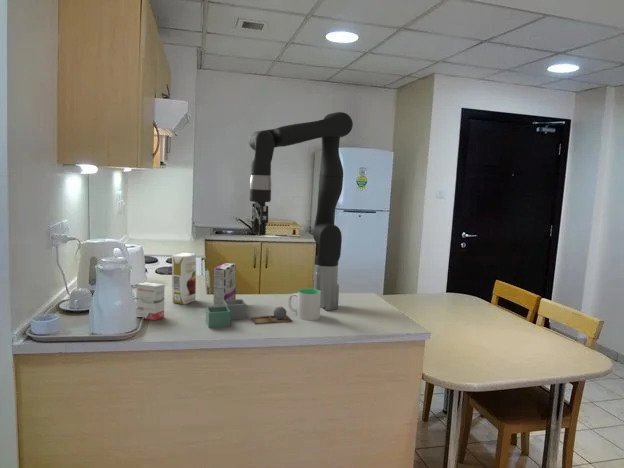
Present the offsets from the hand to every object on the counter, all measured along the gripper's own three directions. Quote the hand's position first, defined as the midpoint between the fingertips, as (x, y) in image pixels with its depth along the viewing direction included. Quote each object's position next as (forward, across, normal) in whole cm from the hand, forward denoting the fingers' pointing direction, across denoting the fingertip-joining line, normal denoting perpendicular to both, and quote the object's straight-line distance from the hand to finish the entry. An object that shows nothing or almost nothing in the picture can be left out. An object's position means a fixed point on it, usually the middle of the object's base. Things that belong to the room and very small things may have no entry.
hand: (259, 233), depth 171 cm
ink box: (+30, +6, +37) cm, 48 cm away
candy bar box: (+30, +12, +10) cm, 34 cm away
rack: (+30, -10, -2) cm, 32 cm away
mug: (+30, -8, -15) cm, 35 cm away
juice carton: (+30, +24, +24) cm, 45 cm away
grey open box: (+30, -2, +9) cm, 32 cm away
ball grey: (+29, -10, -6) cm, 31 cm away
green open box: (+30, -10, +16) cm, 36 cm away
